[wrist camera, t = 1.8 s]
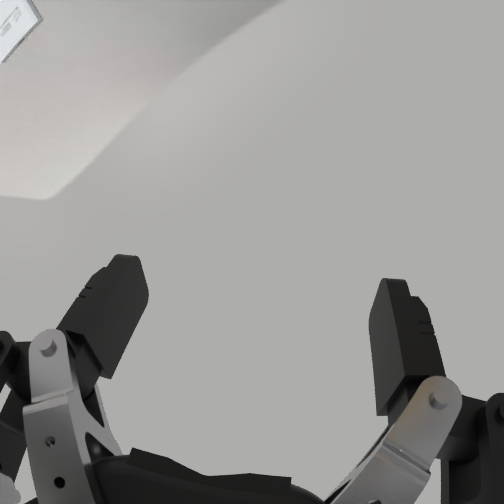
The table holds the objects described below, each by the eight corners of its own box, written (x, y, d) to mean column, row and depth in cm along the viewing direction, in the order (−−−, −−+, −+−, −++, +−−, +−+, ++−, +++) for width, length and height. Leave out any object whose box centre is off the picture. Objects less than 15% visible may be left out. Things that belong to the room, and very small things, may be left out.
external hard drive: (9, -45, 14) (45, 19, 22) (-27, 0, 17) (6, 61, 24) (0, -44, 13) (36, 21, 20) (-35, 3, 15) (-2, 65, 23)
